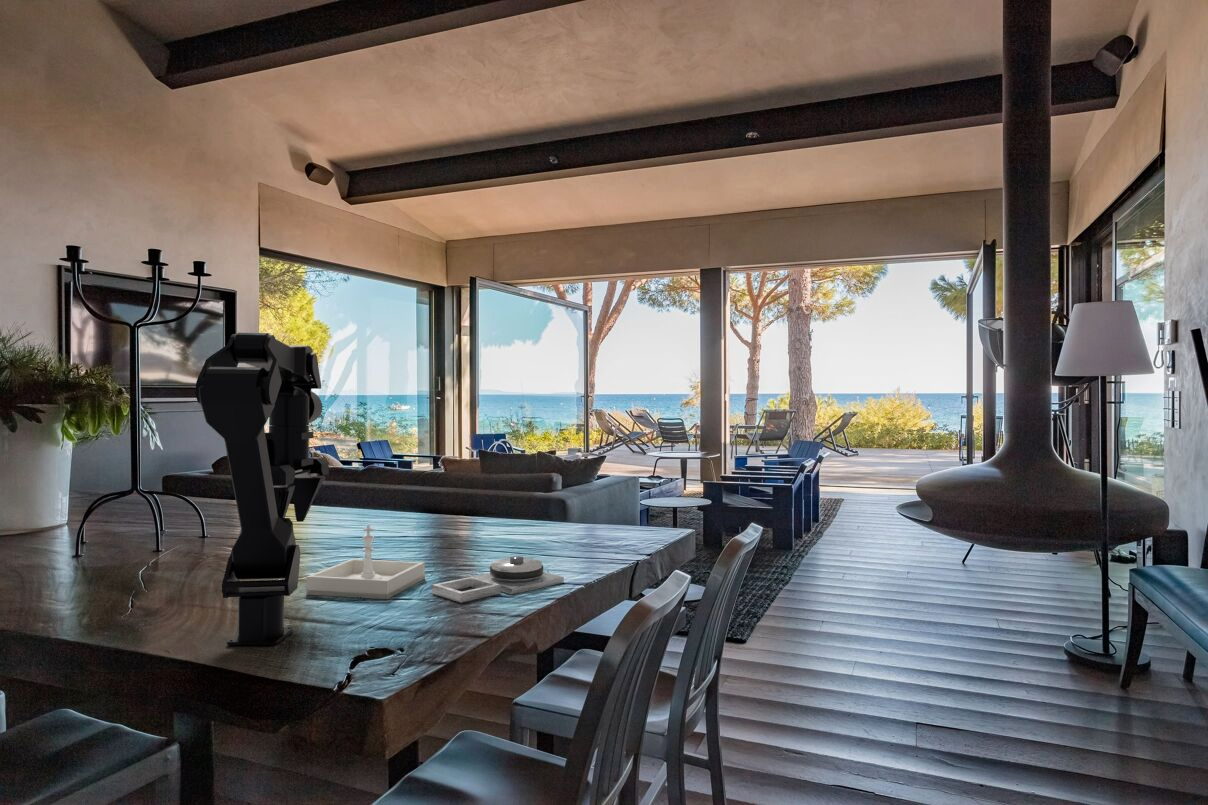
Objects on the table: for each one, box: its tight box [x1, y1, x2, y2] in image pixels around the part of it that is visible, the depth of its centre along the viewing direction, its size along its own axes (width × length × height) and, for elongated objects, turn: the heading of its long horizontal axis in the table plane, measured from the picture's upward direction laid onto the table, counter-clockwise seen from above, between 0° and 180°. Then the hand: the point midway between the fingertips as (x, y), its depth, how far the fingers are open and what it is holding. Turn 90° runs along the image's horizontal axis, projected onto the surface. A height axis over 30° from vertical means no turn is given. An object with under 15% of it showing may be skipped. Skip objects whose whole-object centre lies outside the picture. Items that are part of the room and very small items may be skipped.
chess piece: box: [355, 524, 382, 579], centre depth 130 cm, size 5×5×10 cm
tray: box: [305, 558, 426, 600], centre depth 130 cm, size 15×15×3 cm
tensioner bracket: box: [431, 555, 565, 604], centre depth 130 cm, size 21×12×4 cm, turn 136°
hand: (288, 526), depth 115 cm, fingers open, 9 cm apart
